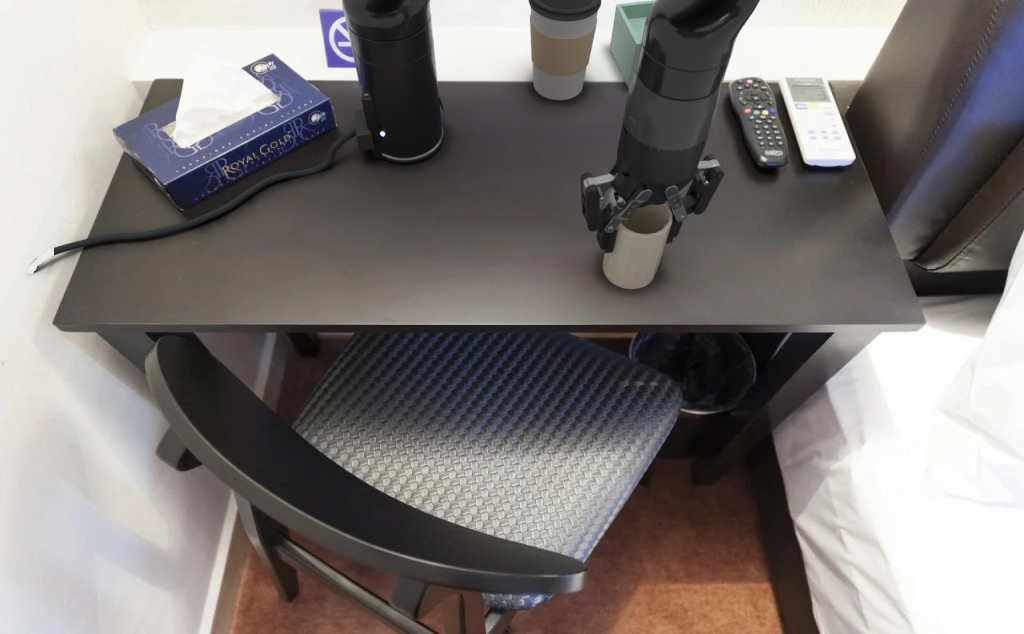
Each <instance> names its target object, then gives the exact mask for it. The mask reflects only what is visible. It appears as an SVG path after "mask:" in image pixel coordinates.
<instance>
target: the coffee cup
mask: <svg viewBox="0 0 1024 634" xmlns="http://www.w3.org/2000/svg"><path fill="white" fill-rule="evenodd" d="M528 4H529V6H530V15H529V30H530V55H531V63H532V82H533V83H532V84H533V88H534V90H535V91H536V93H537V94H539V95H540V96H542V97H544V98H546V99H547V100H553V101H566V100H570V99H573V98H575V97H577V96H578V95H579V94H581V92H582V90H583V87H584V81H585V78H586V77H585V76H586V73H587V67H588V66H589V64H590V59H591V54H592V48H593V44H594V40H595V35H596V31H597V25H598V14H599V10H600V8H601V6H602V0H528Z"/></svg>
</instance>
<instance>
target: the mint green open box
mask: <svg viewBox="0 0 1024 634" xmlns="http://www.w3.org/2000/svg"><path fill="white" fill-rule="evenodd" d="M655 1H656V0H643V1H635V2H625V3H618V4H617V3H616V5H615V11H614V18H613V24H612V31H611V37H610V45H609V51H610V54H611V55H612V57H613V59H614V62H615V64H616V66H617V68H618V70H619V72H620V74H621V76H622V79H623V80H624V82H625V85H626V88H627V89H629V87H630V84H631V81H632V79H633V76H634V73H635V70H636V66H637V62H638V57H639V52H640V46H641V41H642V35H643V30H644V25H645V21H646V18H647V15H648V13H649V11H650V9H651V7H652V5H653V4H654V2H655Z"/></svg>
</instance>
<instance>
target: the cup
mask: <svg viewBox="0 0 1024 634" xmlns="http://www.w3.org/2000/svg"><path fill="white" fill-rule="evenodd" d="M625 204H626V202H625ZM613 212H614V211H613ZM613 212H612V213H613ZM672 217H673V214H672V212H671V210H670V208H669V204H668V203H667V202H665V204H661V205H648V206H645V207H641V208H638V209H637V210H636V211H635V212H634V213H633V215H632V216H631V217H630V218H629V219H628V220H625V219H624V220H623V221H622V222H621V223H620V225H619V226H618V227H617V228H616V230H617V234H616V239H615V243H614V248H613V252H612V253H605V252H604V253H603V259H602V272H603V274H604V276H605V278H607V280H608V281H609V282H610V283H611V284H613V285H615V286H616V287H619V288H622V289H625V290H638V289H642V288H644V287H646V286H648V285H649V284H650V283H651V282H652V281H653V280H654V279H655V276H656V274H657V272H658V268H659V265H660V262H661V259H662V256H663V253H664V249H665V247H666V244H665V243H666V240H667V237H668V234H669V231H670V228H671V225H672Z"/></svg>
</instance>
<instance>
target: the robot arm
mask: <svg viewBox="0 0 1024 634" xmlns="http://www.w3.org/2000/svg"><path fill="white" fill-rule="evenodd" d="M760 1H761V0H656V1H655V2H654V4H653V5H652V7H651V9H650V11H649V13H648V15H647V18H646V21H645V25H644V30H643V35H642V41H641V46H640V52H639V57H638V62H637V66H636V70H635V73H634V76H633V79H632V81H631V84H630V87H629V88H628V92H627V98H626V102H625V109H624V113H623V117H622V123H621V128H620V134H619V139H618V145H617V151H616V160H615V163H614V164H613V166H612V167H611V168H610V170H609V172H608V173H606V174H603V175H599V176H595V177H594V175H593V173H592V172H590V171H587V172H584V173H582V174H581V175H580V177H579V180H580V181H579V182H580V200H581V214H582V216H583V218H584V220H585V222H586V226H587V229H588V231H589V232H596V234H595V235H596V236H595V238H596V241H597V243H598V246H599V248H600V250H603V252H604V254H605V253H612V252H613V248H614V243H615V239H616V234H617V230H616V228H617V227H618V226H619V225H620V223H621V222H622V221H623V220H624V219H625V220H628V219H629V218H630V217H631V216H632V215H633V213H634V212H635V211H636V210H637V209H638V208H641V207H645V206H648V205H661V204H665V203H667V205H668V206H669V208H670V210H671V212H672V214H673V217H672V225H671V228H670V231H669V234H668V237H667V240H666V243H665V245H666V244H667V245H668V244H672V243H673V240H674V239H675V238H677V237H678V236H679V233H680V230H681V228H682V226H683V222H684V221H685V220H687V218H688V216H689V215H691V214H694V215H696V216H697V215H702V214H704V213H705V211H706V210H707V208H708V206H709V204H710V202H711V201H712V199H713V197H714V195H715V193H716V191H717V189H718V187H719V186H720V184H721V182H722V180H723V178H724V176H725V172H724V170H723V168H722V166H721V164H720V162H719V161H718V158H717V157H716V155H715V154H713V153H709V154H707V155H706V156H704V157H703V159H702V160H701V158H702V156H703V153H704V150H705V147H706V144H707V141H708V137H709V134H710V131H711V129H712V125H713V122H714V120H715V117H716V113H717V110H718V107H719V102H720V97H721V90H722V87H723V86H722V85H723V82H724V79H725V76H726V74H727V70H728V67H729V64H730V61H731V59H732V54H733V51H734V48H735V44H736V40H737V38H738V37H739V34H740V32H741V31H742V30H743V28H744V26H745V25H746V24H747V22H748V21H749V19H750V18H751V16H752V15H753V13H754V12H755V10H756V8H757V7H758V5H759V3H760ZM341 5H342V10H343V16H344V20H345V24H346V28H347V34H348V38H349V43H350V47H351V52H352V57H353V61H354V67H355V71H356V76H357V80H358V88H359V94H360V100H361V104H362V105H361V106H362V108H360V109H354V110H353V118H354V126H355V127H353V128H352V129H350V131H348V132H346V133H345V134H343V135H342V136H340V137H339V138H338V139H336V140H335V141H334V142H333V144H331V146H330V148H329V150H328V153H327V155H326V156H327V157H326V159H325V160H324V161H322V162H321V163H320V164H318V165H315V166H313V167H310V168H305V169H300V170H290V171H285V172H280V173H276V174H273V175H270V176H268V177H266V178H264V179H262V180H260V181H258V182H257V183H255V184H253V185H252V186H250V187H249V188H247V189H246V190H244V191H243V192H242V193H240V194H239V195H237V196H236V197H234V198H233V199H231V200H230V201H228V202H227V203H225V204H223V205H221V206H219V207H218V208H216V209H213V210H210V211H209V212H206V213H204V214H201V215H199V216H196V217H194V218H191V219H189V220H186V221H182V222H179V223H176V224H172V225H169V226H165V227H161V228H156V229H152V230H146V231H135V232H120V233H109V234H107V233H106V234H101V235H97V236H93V237H88V238H85V239H81V240H77V241H72V242H68V243H64V244H61V245H58V246H55V247H53V248H54V256H53V257H55V256H57V255H61V254H62V253H67V252H69V251H73V250H77V249H81V248H85V247H86V248H87V247H89V246H93V245H97V244H101V243H107V242H108V243H109V242H116V241H117V242H119V241H136V240H144V239H151V238H157V237H161V236H165V235H168V234H172V233H176V232H180V231H183V230H186V229H189V228H193V227H195V226H198V225H200V224H204V223H205V222H208V221H210V220H212V219H215V218H216V217H219V216H221V215H223V214H225V213H227V212H228V211H229V212H230V211H231V210H232V209H234V208H235V207H237V206H238V205H240V204H241V203H243V202H244V201H245V200H247V199H248V198H250V197H251V196H252V195H254V194H255V193H257V192H259V191H260V190H261V189H263V188H265V187H267V186H268V185H271V184H273V183H276V182H278V181H282V180H286V179H293V178H301V177H308V176H311V175H315V174H318V173H320V172H322V171H324V170H326V169H327V168H328V167H330V166H331V165H332V164H333V162H334V159H335V157H336V153H337V151H338V150H339V148H340V147H342V146H343V145H344V144H345V143H346V142H348V141H350V140H351V139H353V138H354V137H356V140H357V144H358V148H359V151H360V152H362V151H363V152H364V151H370V150H371V151H372V155H373V159H374V160H379V159H384V160H386V161H388V162H391V163H396V164H412V163H413V164H415V163H419V162H420V161H424V160H426V159H429V158H430V157H433V155H435V154H436V153H437V152H438V151H439V150H440V148H441V146H442V144H443V141H444V129H443V120H442V116H441V115H442V114H441V110H442V113H443V114H445V110H444V103H443V102H442V99H441V97H440V95H439V94H440V93H439V83H438V74H437V62H436V61H437V60H436V53H435V41H434V32H433V30H434V29H433V22H432V13H431V11H432V10H431V0H341ZM689 183H690V185H689ZM687 185H689V188H688V189H687V191H686V193H685V196H683V197H682V196H681V194H680V192H681V191H682V190H683V189H684V188H686V186H687ZM609 189H610V190H609ZM608 190H609V191H608ZM607 191H608V194H607V199H606V200H605V197H604V196H605V195H606V193H607ZM604 200H605V202H604ZM600 202H604V203H603V204H602V205H601V203H600ZM625 202H626V204H625ZM613 211H614V212H613Z"/></svg>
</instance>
